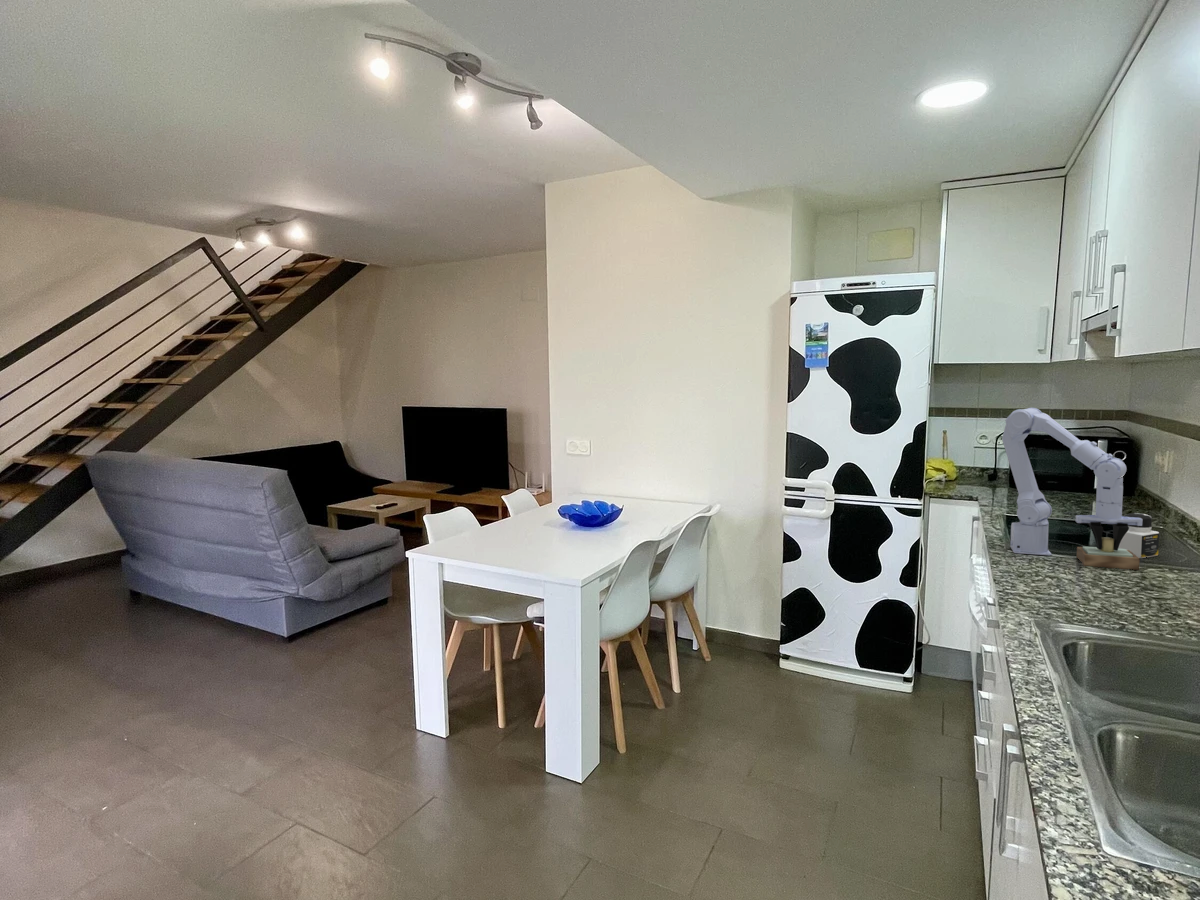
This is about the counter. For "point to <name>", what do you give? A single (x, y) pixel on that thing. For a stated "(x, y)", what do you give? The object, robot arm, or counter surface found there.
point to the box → (1108, 560)
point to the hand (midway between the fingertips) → (1107, 548)
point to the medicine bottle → (1141, 538)
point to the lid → (1107, 549)
